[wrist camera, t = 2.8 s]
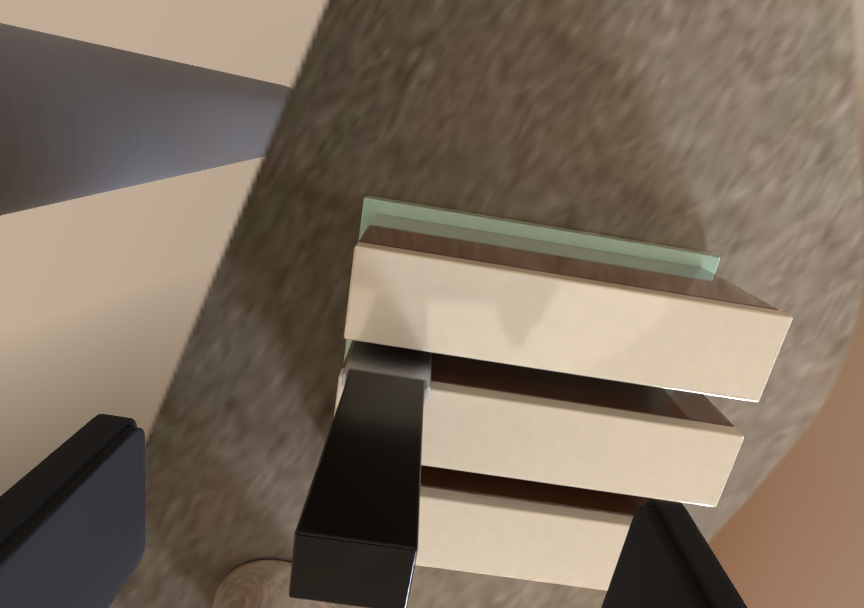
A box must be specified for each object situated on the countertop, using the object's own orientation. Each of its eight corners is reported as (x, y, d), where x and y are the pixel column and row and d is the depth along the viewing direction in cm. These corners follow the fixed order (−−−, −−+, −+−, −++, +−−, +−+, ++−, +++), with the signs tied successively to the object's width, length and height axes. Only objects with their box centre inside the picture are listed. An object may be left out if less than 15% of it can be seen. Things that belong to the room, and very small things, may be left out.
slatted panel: (333, 454, 25) (301, 562, 19) (366, 194, 21) (338, 225, 15) (627, 496, 26) (687, 613, 20) (711, 252, 22) (817, 304, 16)
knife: (367, 316, 22) (272, 597, 9) (372, 283, 21) (278, 530, 9) (428, 325, 22) (420, 616, 9) (434, 293, 22) (433, 550, 9)
